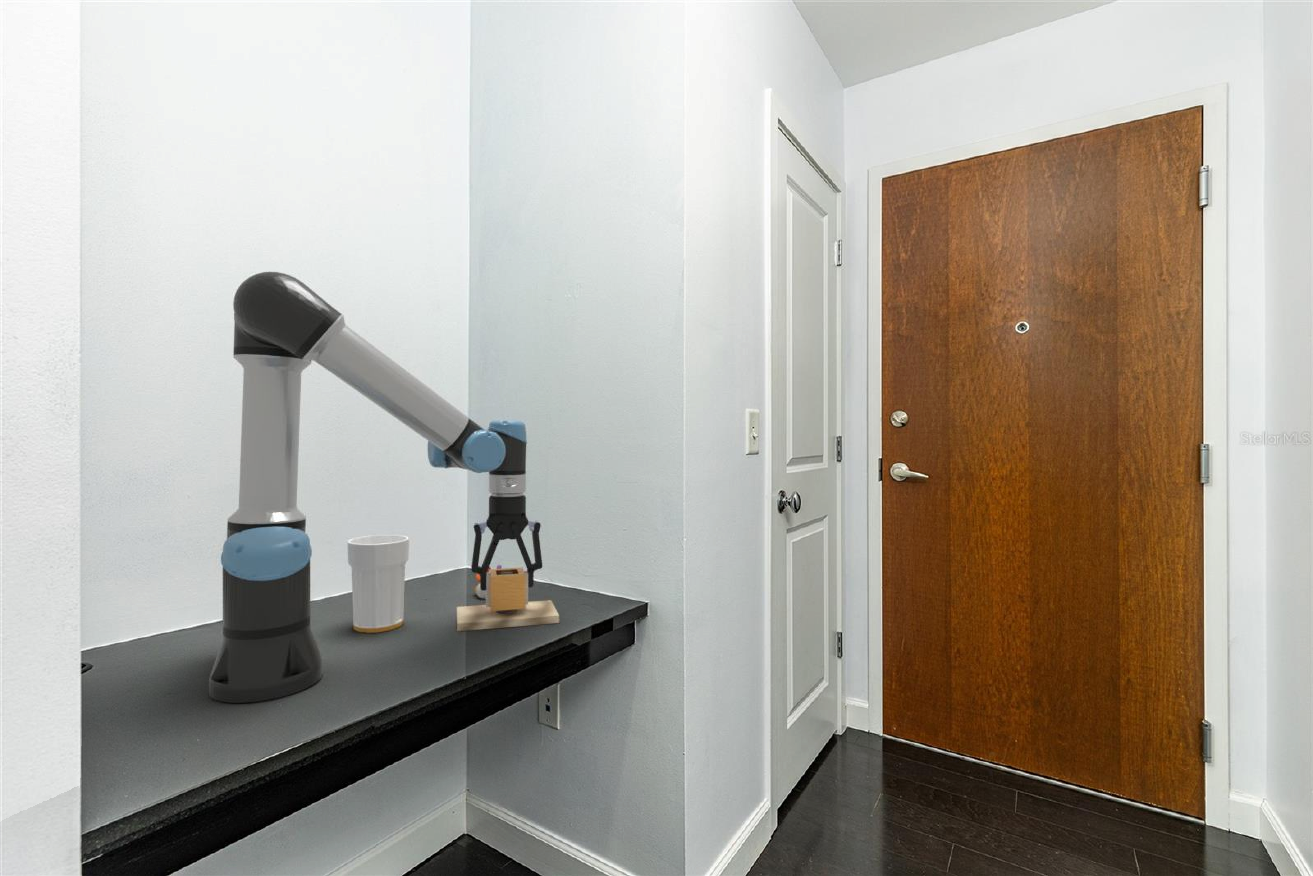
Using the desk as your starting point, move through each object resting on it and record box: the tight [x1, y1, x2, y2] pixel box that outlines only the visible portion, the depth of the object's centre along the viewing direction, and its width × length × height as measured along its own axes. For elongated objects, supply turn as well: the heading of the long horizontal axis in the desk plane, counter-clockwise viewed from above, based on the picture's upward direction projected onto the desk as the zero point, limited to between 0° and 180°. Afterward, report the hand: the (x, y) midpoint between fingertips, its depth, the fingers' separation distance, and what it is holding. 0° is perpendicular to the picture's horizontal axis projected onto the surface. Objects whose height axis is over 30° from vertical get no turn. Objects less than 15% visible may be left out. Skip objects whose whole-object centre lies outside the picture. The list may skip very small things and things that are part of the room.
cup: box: [347, 534, 410, 634], centre depth 128 cm, size 11×11×17 cm
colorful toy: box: [473, 564, 502, 600], centre depth 152 cm, size 8×10×7 cm
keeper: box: [456, 572, 560, 632], centre depth 133 cm, size 20×12×10 cm, turn 107°
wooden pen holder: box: [489, 567, 526, 611], centre depth 133 cm, size 7×7×7 cm
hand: (506, 603), depth 133 cm, fingers closed on wooden pen holder, 7 cm apart
